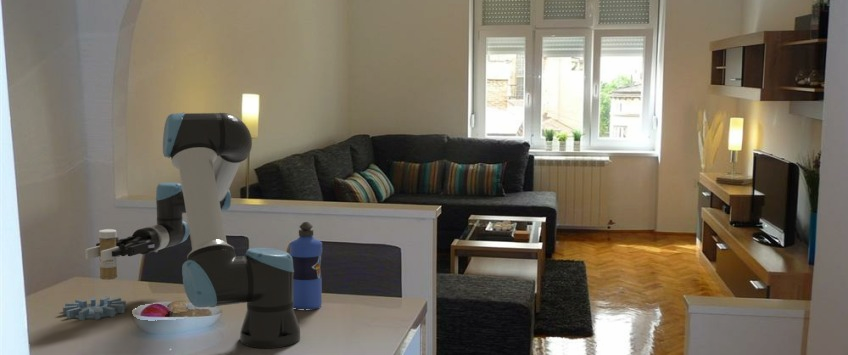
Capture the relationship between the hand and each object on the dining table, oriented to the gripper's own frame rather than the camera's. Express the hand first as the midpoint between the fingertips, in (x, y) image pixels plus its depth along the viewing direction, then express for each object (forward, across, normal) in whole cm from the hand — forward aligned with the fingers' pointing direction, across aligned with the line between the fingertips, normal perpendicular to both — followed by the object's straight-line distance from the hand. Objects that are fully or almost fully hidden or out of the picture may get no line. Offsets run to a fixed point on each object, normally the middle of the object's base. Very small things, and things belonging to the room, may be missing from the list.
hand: (94, 255), depth 215 cm
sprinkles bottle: (-5, 0, -8) cm, 9 cm away
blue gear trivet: (-8, +7, -19) cm, 22 cm away
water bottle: (-35, -45, -19) cm, 60 cm away
